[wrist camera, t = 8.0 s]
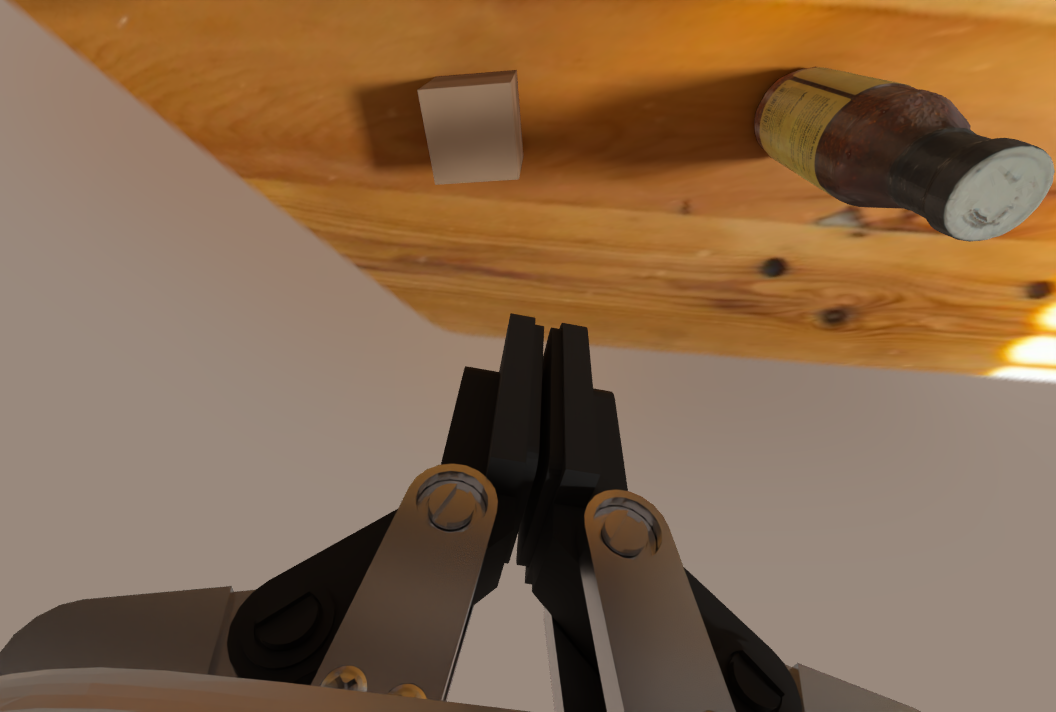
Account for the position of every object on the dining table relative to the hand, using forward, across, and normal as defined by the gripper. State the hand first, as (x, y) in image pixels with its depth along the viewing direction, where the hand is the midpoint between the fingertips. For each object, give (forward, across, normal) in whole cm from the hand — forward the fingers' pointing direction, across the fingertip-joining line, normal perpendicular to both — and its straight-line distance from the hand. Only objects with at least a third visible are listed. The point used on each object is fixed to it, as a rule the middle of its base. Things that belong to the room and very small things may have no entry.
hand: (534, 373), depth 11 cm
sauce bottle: (+32, -18, -3) cm, 37 cm away
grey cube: (+32, +5, +2) cm, 33 cm away
